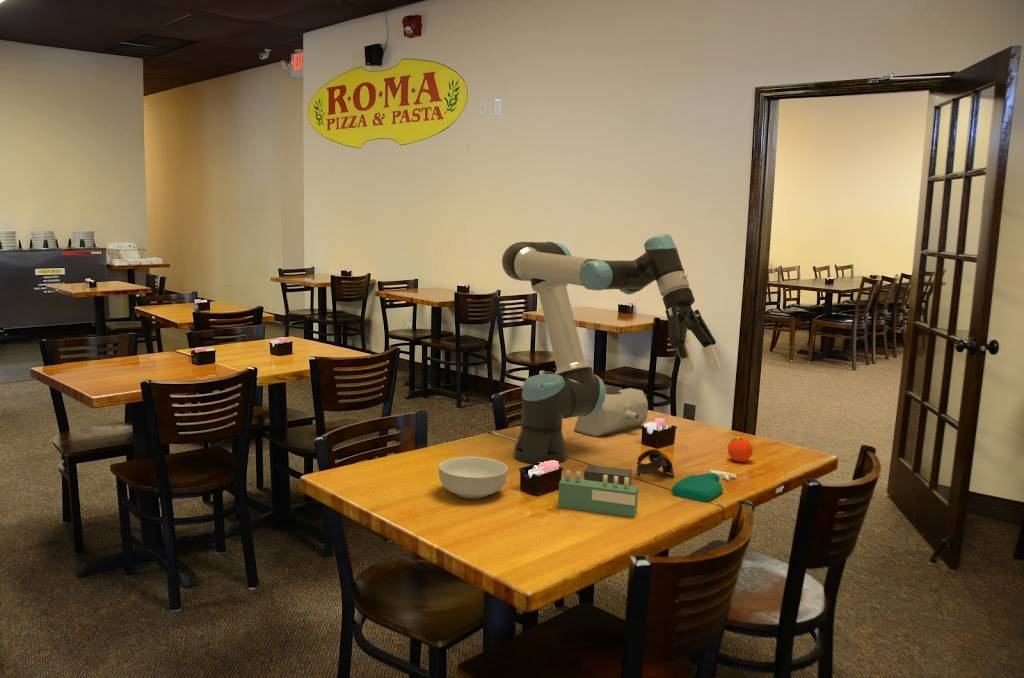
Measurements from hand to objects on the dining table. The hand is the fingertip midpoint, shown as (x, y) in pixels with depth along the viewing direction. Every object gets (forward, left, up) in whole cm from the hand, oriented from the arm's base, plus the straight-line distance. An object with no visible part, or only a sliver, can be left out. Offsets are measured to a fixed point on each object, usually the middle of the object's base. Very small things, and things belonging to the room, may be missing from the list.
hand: (703, 370), depth 199 cm
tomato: (+9, +35, -32) cm, 48 cm away
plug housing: (-21, -9, -32) cm, 39 cm away
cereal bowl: (-52, -22, -32) cm, 65 cm away
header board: (-21, -21, -32) cm, 43 cm away
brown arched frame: (-12, +12, -32) cm, 36 cm away
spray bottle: (+2, +7, -32) cm, 33 cm away
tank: (-30, +55, -32) cm, 70 cm away
